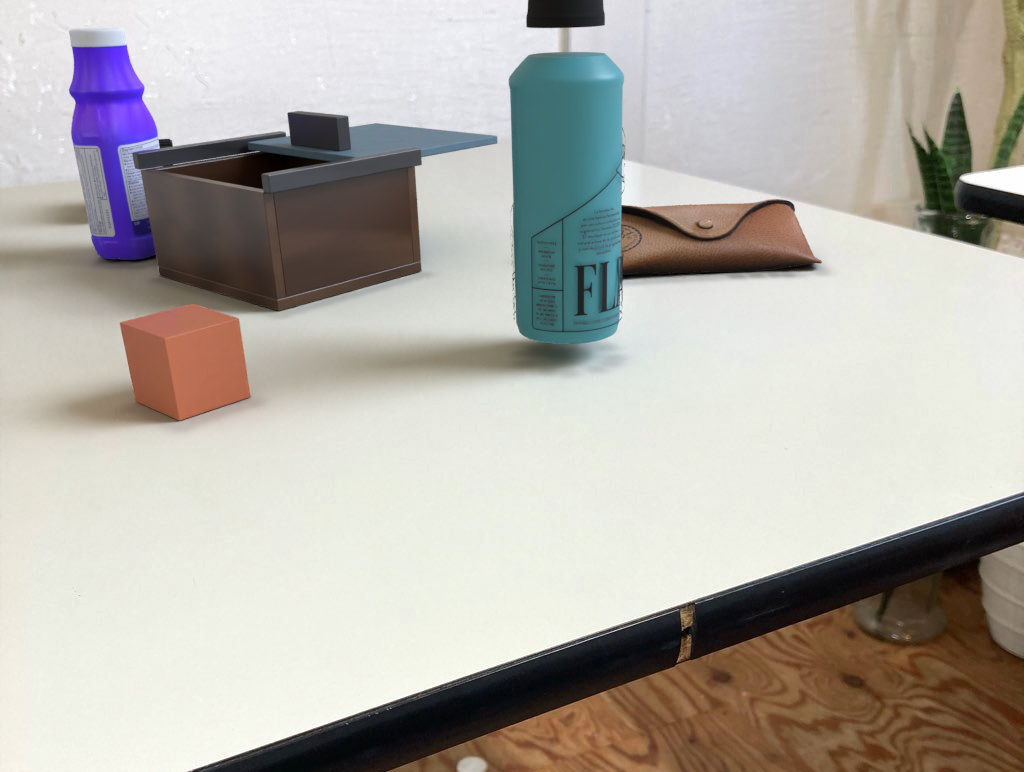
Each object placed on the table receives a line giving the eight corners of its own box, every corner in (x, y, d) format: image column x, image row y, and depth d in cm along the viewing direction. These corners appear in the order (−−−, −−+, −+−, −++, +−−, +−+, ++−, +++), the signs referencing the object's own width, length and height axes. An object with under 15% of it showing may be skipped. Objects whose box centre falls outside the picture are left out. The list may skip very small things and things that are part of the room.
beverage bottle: (575, 378, 59) (576, -19, 50) (490, 354, 63) (476, -17, 54) (643, 348, 63) (656, -22, 54) (560, 328, 67) (558, -20, 58)
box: (153, 274, 82) (131, 152, 78) (293, 242, 91) (280, 131, 87) (285, 313, 72) (267, 175, 67) (429, 272, 80) (421, 148, 76)
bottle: (129, 243, 92) (88, 26, 84) (188, 244, 91) (152, 25, 83) (83, 263, 86) (33, 31, 78) (146, 265, 85) (102, 30, 77)
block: (135, 401, 57) (118, 322, 55) (205, 379, 60) (192, 303, 58) (179, 421, 55) (164, 338, 53) (251, 397, 58) (239, 317, 55)
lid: (248, 149, 84) (242, 110, 82) (376, 130, 92) (373, 94, 91) (368, 167, 75) (364, 123, 73) (497, 143, 83) (496, 103, 82)
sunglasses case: (595, 275, 76) (587, 186, 77) (580, 301, 83) (573, 219, 84) (831, 263, 78) (823, 176, 78) (797, 289, 85) (789, 209, 85)
